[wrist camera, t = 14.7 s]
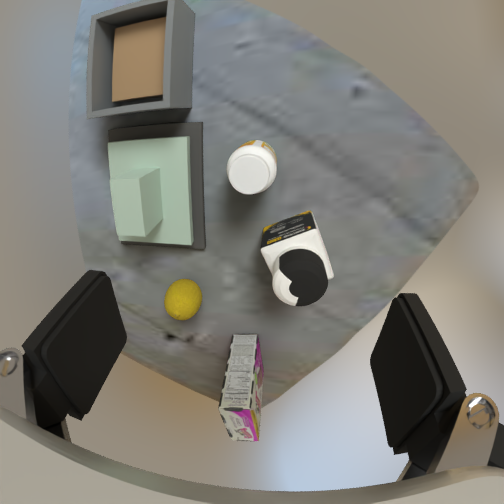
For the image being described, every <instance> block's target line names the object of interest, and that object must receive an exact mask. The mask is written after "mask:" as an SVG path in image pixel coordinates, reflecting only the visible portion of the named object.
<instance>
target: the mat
mask: <svg viewBox="0 0 504 504" xmlns="http://www.w3.org/2000/svg"><path fill="white" fill-rule="evenodd" d="M185 136H190V171H191V199H192V220H193V237H194V242H193V244H192V245H181V244H166V243H150V242H135V241H121V244H133V245H148V246H163V247H179V248H194V249H205V248H206V239H205V214H204V180H203V122H190V123H171V124H158V125H146V126H136V127H127V128H119V129H112V130H109V143H110V142H115V141H124V140H135V139H148V138H163V137H185Z"/></svg>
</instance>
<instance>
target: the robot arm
mask: <svg viewBox="0 0 504 504" xmlns="http://www.w3.org/2000/svg"><path fill="white" fill-rule="evenodd" d="M126 340H127V335H126V331H125V328H124V325H123V322H122V319H121V316H120V312H119V309H118V305H117V302H116V298H115V295H114V291H113V287H112V284H111V280H110V278H109V277H108V276H107V275H106V273H105V272H103V271H95V270H89V271H87V272H86V273H85V274H84V275H83V276H82V278H81V279H80V280H79V281H78V282H77V283H76V284H75V285H74V286H73V287H72V288H71V289H70V290H69V291H68V292H67V294H65V296H64V297H63V298H62V299H61V300H60V301H59V302H58V303H57V304H56V306H55V307H54V308H53V309H52V310H51V311H50V312H49V313H48V315H47V316H46V317H45V318H44V319H43V320H42V321H41V323H40V324H39V325H38V326H37V327H36V329H35V330H34V331H33V332H32V333H31V335H30V336H29V337H28V338H27V340H26V341H25V342H24V343H23V345H22V347H23V349H24V350H25V354H24V355H22V353H21V352H20V351H19V350H18V349H16V348H6V349H4V350H2V351H0V504H504V425H502V424H500V423H499V412H498V408H497V406H496V404H495V403H494V401H493V400H492V399H491V398H489V397H488V396H486V395H484V394H481V393H473V394H470V395H469V396H466V394H465V391H466V390H467V389H466V387H465V384H464V382H463V380H462V378H461V375H460V373H459V371H458V369H457V367H456V365H455V363H454V361H453V359H452V357H451V355H450V353H449V351H448V349H447V347H446V345H445V343H444V341H443V339H442V337H441V335H440V333H439V332H438V330H437V328H436V326H435V324H434V323H433V321H432V319H431V317H430V315H429V314H428V312H427V310H426V309H425V307H424V305H423V303H422V302H421V300H420V298H419V297H418V295H417V294H415V293H414V294H413V293H400V294H399V295H398V297H397V298H394V299H393V300H392V303H391V306H390V309H389V311H388V314H387V317H386V319H385V322H384V325H383V327H382V330H381V332H380V335H379V337H378V340H377V342H376V345H375V347H374V350H373V352H372V354H371V359H370V365H371V369H372V373H373V377H374V381H375V385H376V389H377V393H378V398H379V402H380V406H381V411H382V415H383V421H384V426H385V431H386V436H387V441H388V445H389V446H390V447H393V451H394V455H395V454H401V453H407V452H408V455H409V461H408V463H407V464H406V466H405V468H404V470H403V471H402V473H401V475H400V476H399V478H398V479H397V481H396V482H392V483H386V484H380V485H373V486H366V487H359V488H350V489H340V490H327V491H304V492H303V491H300V492H288V491H261V490H248V489H237V488H229V487H221V486H214V485H208V484H201V483H196V482H191V481H186V480H181V479H176V478H172V477H168V476H164V475H160V474H156V473H153V472H149V471H145V470H142V469H139V468H135V467H132V466H129V465H126V464H123V463H120V462H117V461H114V460H112V459H109V458H106V457H104V456H101V455H99V454H96V453H93V452H91V451H89V450H86V449H84V448H82V447H79V446H77V445H75V444H72V442H71V439H70V436H69V432H68V427H67V424H66V419H65V417H66V415H67V413H68V414H69V415H70V416H72V417H74V418H77V419H79V420H82V418H83V417H84V415H85V414H87V413H88V412H89V411H90V409H91V407H92V405H93V403H94V401H95V399H96V397H97V395H98V393H99V391H100V390H101V388H102V386H103V384H104V382H105V380H106V378H107V376H108V375H109V373H110V371H111V369H112V367H113V365H114V363H115V362H116V360H117V358H118V356H119V354H120V353H121V351H122V349H123V347H124V345H125V343H126Z"/></svg>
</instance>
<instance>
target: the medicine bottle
mask: <svg viewBox="0 0 504 504" xmlns="http://www.w3.org/2000/svg"><path fill="white" fill-rule="evenodd" d="M261 253H262V255H263V257H264V259H265V261H266V263H267V265H268V267H269V269H270V271H271V274H272V276H273V283H272V285H273V290H274V292H275V294H276V296H277V297H278V298H279V299H280V300H281V301H283V302H284V303H286V304H289V305H293V306H306V305H309V304H312V303H314V302H316V301H317V300H319V299H320V298H321V297H322V296H323V295H324V293H325V292H326V289H327V286H328V280H329V279H332V278H333V277H334V274H333V271H332V267H331V264H330V261H329V257H328V254H327V251H326V248H325V245H324V242H323V240H322V237H321V234H320V232H319V229H318V226H317V224H316V221H315V219H314V216H313V213H312V211H310V210H309V211H306V212H303V213H301V214H298V215H295V216H293V217H290V218H287V219H285V220H282V221H279V222H277V223H274V224H272V225H269V226H266V227H264V229H263V236H262V243H261Z"/></svg>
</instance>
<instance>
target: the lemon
mask: <svg viewBox="0 0 504 504" xmlns="http://www.w3.org/2000/svg"><path fill="white" fill-rule="evenodd" d="M201 302H202V293H201V290H200V288H199V286H198V285H197V284H196V283H195V282H194V281H192V280H189V279H180V280H177V281H175V282H174V283H173V284H172V285H170V287H169V288H168V290H167V292H166V295H165V300H164V304H165V309H166V311H167V313H168V314H169V315H170V316H171V317H173V318H174V319H177V320H187V319H189V318H191V317H192V316H194V315H195V314H196V312H197V311H198V310H199V307H200V305H201Z"/></svg>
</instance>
